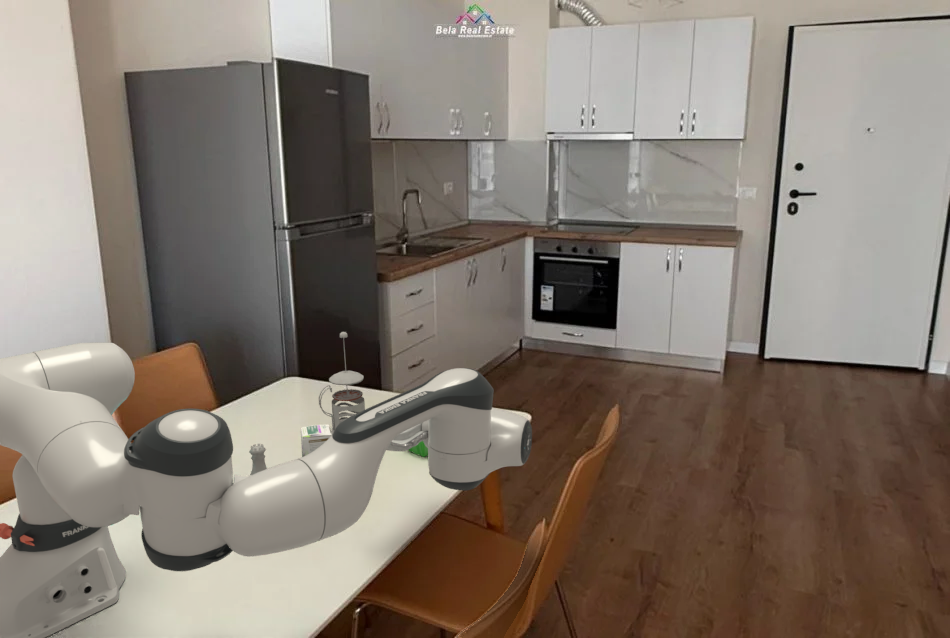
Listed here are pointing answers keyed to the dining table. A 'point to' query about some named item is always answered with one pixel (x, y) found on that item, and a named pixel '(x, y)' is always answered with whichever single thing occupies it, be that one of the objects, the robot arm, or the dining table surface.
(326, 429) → the syrup box
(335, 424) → the french press
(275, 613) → the dining table surface
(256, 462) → the rook chess piece
